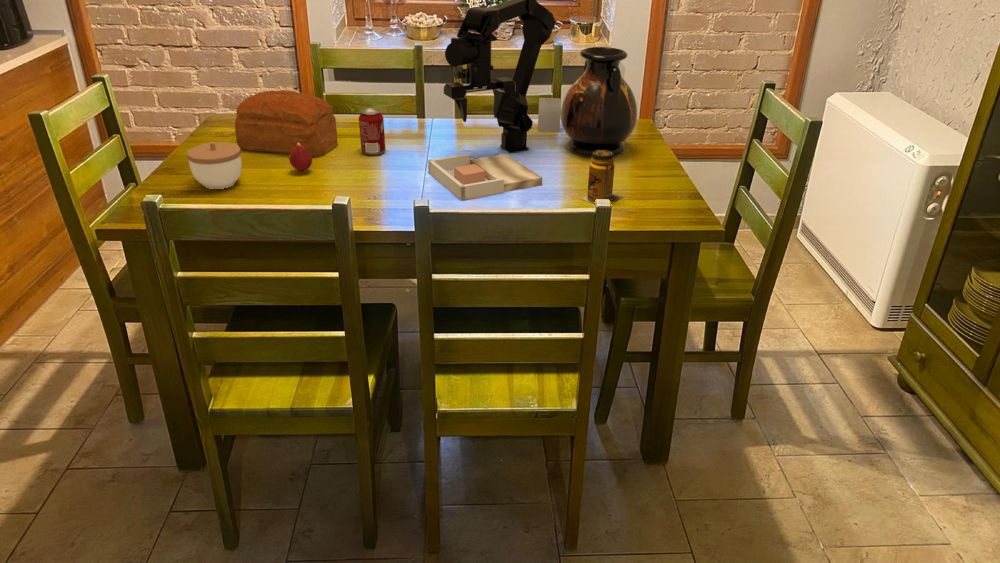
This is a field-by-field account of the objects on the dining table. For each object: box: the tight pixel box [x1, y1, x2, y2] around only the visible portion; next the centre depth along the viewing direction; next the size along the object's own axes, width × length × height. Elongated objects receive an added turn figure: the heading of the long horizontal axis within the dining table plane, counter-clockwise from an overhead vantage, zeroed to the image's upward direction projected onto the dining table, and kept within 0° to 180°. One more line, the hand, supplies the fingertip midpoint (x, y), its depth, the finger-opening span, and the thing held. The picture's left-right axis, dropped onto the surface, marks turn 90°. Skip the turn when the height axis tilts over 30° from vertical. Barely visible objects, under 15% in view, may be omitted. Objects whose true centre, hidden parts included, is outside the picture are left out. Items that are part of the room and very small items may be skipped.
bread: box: [234, 89, 339, 157], centre depth 209 cm, size 16×27×16 cm, turn 76°
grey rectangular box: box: [537, 97, 562, 133], centre depth 227 cm, size 4×7×10 cm, turn 87°
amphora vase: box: [560, 46, 638, 158], centre depth 207 cm, size 22×22×28 cm
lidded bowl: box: [186, 141, 243, 190], centre depth 183 cm, size 13×13×11 cm
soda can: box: [358, 107, 386, 156], centre depth 206 cm, size 7×7×12 cm
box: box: [427, 153, 505, 201], centre depth 189 cm, size 12×21×4 cm, turn 27°
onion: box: [289, 143, 313, 173], centre depth 193 cm, size 6×6×8 cm
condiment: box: [580, 150, 624, 204], centre depth 179 cm, size 7×8×12 cm
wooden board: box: [470, 153, 543, 193], centre depth 194 cm, size 11×20×2 cm, turn 27°
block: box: [454, 164, 485, 185], centre depth 189 cm, size 6×6×3 cm
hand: (480, 119), depth 197 cm, fingers open, 9 cm apart
